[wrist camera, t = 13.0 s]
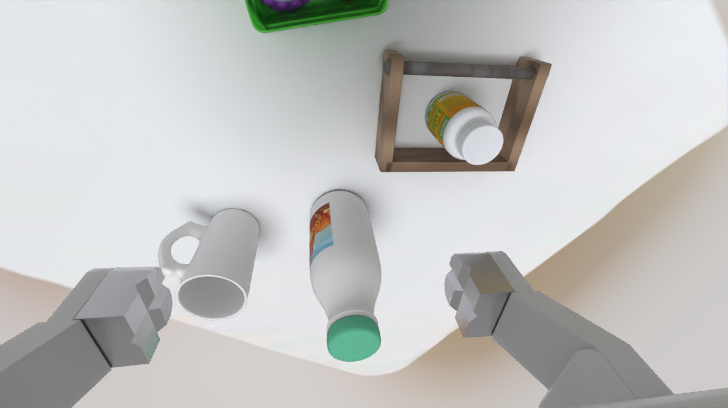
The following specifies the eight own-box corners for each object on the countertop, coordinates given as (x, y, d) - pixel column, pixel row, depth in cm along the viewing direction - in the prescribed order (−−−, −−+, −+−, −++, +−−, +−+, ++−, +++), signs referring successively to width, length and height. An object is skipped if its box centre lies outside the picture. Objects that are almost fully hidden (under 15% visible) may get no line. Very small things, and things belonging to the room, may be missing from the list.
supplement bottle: (422, 96, 36) (453, 125, 28) (468, 85, 36) (513, 111, 28) (426, 140, 39) (455, 177, 31) (469, 129, 39) (509, 164, 31)
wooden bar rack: (378, 50, 33) (386, 56, 30) (534, 57, 36) (557, 64, 32) (370, 156, 40) (375, 172, 36) (502, 157, 42) (518, 171, 39)
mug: (271, 221, 43) (259, 290, 33) (247, 254, 45) (229, 327, 35) (195, 184, 39) (155, 251, 29) (173, 223, 41) (129, 296, 31)
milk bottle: (346, 177, 41) (370, 304, 24) (377, 217, 45) (415, 349, 28) (298, 208, 42) (288, 347, 26) (331, 244, 46) (342, 383, 30)
